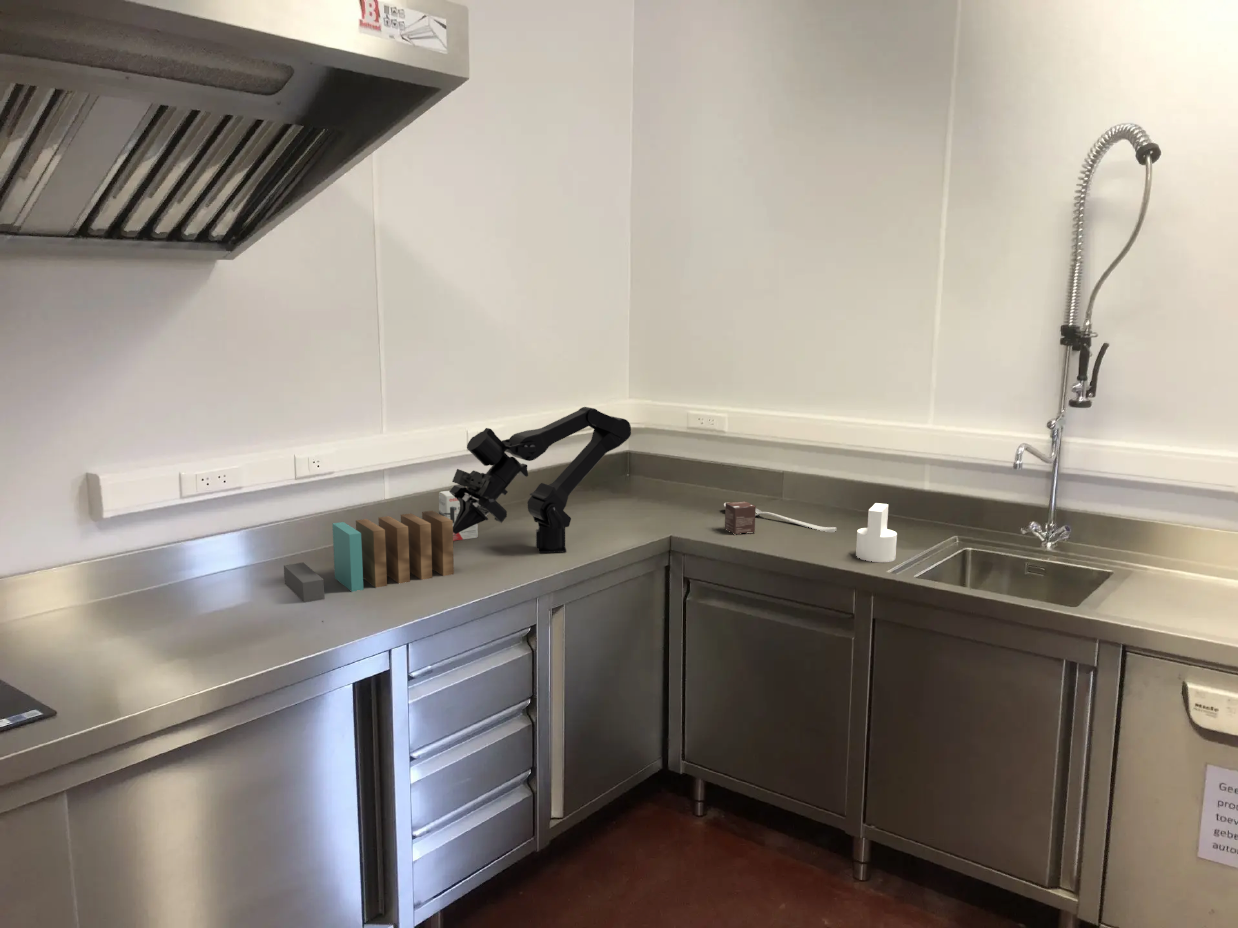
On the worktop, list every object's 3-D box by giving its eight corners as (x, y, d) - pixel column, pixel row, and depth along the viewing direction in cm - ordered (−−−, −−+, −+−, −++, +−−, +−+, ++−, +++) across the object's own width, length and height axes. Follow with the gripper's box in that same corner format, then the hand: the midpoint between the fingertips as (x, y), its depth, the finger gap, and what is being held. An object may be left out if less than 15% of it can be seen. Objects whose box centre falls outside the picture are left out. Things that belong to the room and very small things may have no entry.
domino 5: (433, 562, 206) (432, 510, 204) (453, 574, 197) (452, 520, 195) (423, 563, 204) (422, 511, 202) (443, 575, 195) (442, 521, 193)
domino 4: (412, 565, 203) (410, 513, 201) (432, 577, 194) (430, 523, 192) (402, 567, 202) (400, 514, 199) (421, 579, 193) (420, 524, 191)
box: (745, 528, 240) (746, 501, 238) (755, 533, 234) (756, 506, 233) (724, 529, 238) (724, 502, 236) (733, 535, 232) (734, 507, 231)
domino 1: (346, 576, 195) (343, 521, 192) (363, 589, 186) (361, 533, 184) (334, 578, 193) (332, 523, 191) (351, 591, 184) (349, 534, 182)
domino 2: (368, 572, 197) (366, 518, 195) (387, 585, 188) (384, 529, 186) (358, 574, 196) (355, 520, 194) (375, 587, 187) (373, 531, 185)
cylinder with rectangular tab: (860, 549, 220) (862, 501, 217) (898, 554, 216) (901, 505, 214) (852, 559, 212) (855, 508, 210) (891, 564, 208) (895, 513, 206)
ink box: (446, 542, 222) (445, 495, 220) (438, 537, 227) (437, 491, 224) (478, 537, 227) (477, 491, 225) (470, 533, 231) (469, 488, 229)
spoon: (716, 513, 256) (717, 504, 256) (732, 508, 262) (733, 499, 262) (827, 540, 234) (828, 531, 233) (842, 534, 240) (843, 525, 239)
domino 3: (391, 568, 200) (389, 516, 198) (409, 581, 191) (408, 526, 189) (380, 570, 199) (378, 517, 197) (399, 583, 190) (397, 528, 188)
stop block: (304, 580, 191) (303, 562, 190) (324, 598, 180) (323, 579, 179) (284, 583, 189) (283, 565, 188) (303, 602, 177) (302, 582, 177)
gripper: (456, 450, 209) (412, 502, 205) (493, 462, 194) (446, 518, 190) (488, 480, 215) (445, 531, 211) (526, 494, 200) (481, 550, 195)
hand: (453, 532), depth 201 cm, fingers closed
